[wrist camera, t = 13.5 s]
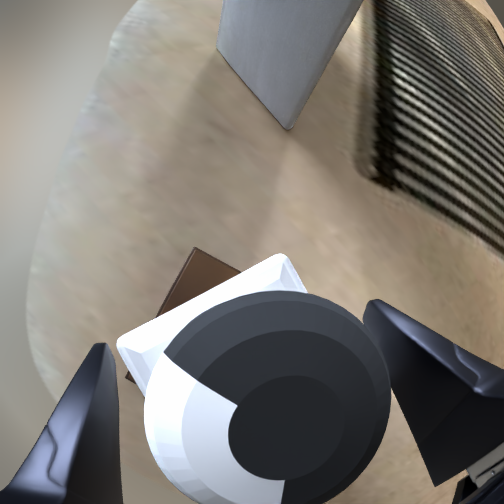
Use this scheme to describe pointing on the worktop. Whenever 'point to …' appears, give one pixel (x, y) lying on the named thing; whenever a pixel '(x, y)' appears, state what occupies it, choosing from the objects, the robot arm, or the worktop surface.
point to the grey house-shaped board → (282, 47)
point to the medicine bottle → (260, 391)
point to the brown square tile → (195, 281)
